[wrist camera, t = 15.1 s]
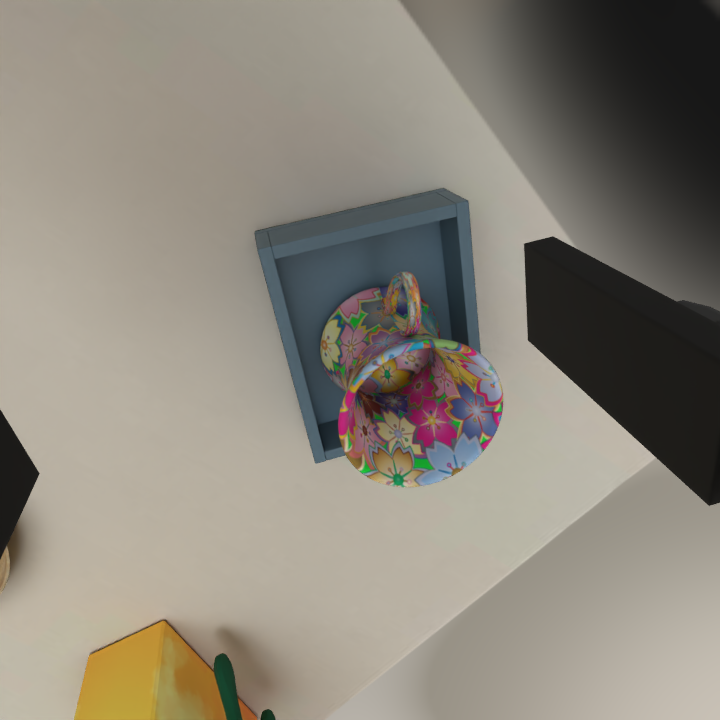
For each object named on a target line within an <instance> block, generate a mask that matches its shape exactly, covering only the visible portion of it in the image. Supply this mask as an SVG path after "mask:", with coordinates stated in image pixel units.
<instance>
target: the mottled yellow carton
mask: <svg viewBox="0 0 720 720" xmlns="http://www.w3.org/2000/svg"><path fill="white" fill-rule="evenodd" d="M74 720H257V717H256V716H255V715H254V714H253V713H252V712H251V711H250V710H249V709H248V708H247V707H246V706H245V704H244V703H243V702H242V701H241V700H240V699H239V698H238V697H237V691H236V683H235V676H234V671H233V667H232V664H231V662H230V660H229V658H228V657H227V655H226V654H223V653H222V654H219V655H218V656H216V658H215V662H214V672H213V671H212V670H211V669H210V668H209V667H208V666H207V665H206V664H205V663H204V662H203V660H202V659H201V658H200V657H199V656H198V655H197V654H196V653H195V652H194V651H193V650H192V649H191V648H190V647H189V646H188V645H187V644H186V643H185V642H184V641H183V640H182V638H181V637H180V636H179V635H178V634H177V633H176V632H175V631H174V630H173V629H172V628H171V627H170V626H169V625H168V624H167V623H166V622H165V621H161V622H159V623H157V624H155V625H153V626H151V627H149V628H146V629H144V630H142V631H140V632H138V633H136V634H134V635H131V636H129V637H127V638H125V639H123V640H121V641H119V642H117V643H114V644H112V645H110V646H108V647H106V648H104V649H102V650H100V651H97V652H95V653H93V654H91V655H89V658H88V662H87V666H86V671H85V675H84V679H83V683H82V687H81V692H80V696H79V700H78V704H77V709H76V713H75V717H74ZM261 720H275V716H274V714H273V712H272V711H271V710H269V709H267V710H265V711H263V712H262V715H261Z"/></svg>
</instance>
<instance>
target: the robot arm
mask: <svg viewBox="0 0 720 720" xmlns="http://www.w3.org/2000/svg"><path fill="white" fill-rule="evenodd" d="M524 251H525V276H526V302H527V327H528V341H529V342H531V343H532V344H533V345H534V346H535V347H536V348H537V349H538V350H539V351H540V352H541V353H543V354H544V355H545V356H546V357H547V358H548V359H549V360H550V361H551V362H552V363H554V364H555V365H556V366H557V367H558V368H559V369H560V370H561V371H562V372H563V373H564V374H566V375H567V376H568V377H569V378H570V379H571V380H572V381H573V382H574V383H575V384H576V385H578V386H579V387H580V388H581V389H582V390H583V391H584V392H585V393H586V394H587V395H588V396H590V397H591V398H592V399H593V400H594V401H595V402H596V403H597V404H598V405H599V406H601V407H602V408H603V409H604V410H605V411H606V412H607V413H608V414H609V415H610V416H611V417H613V418H614V419H615V420H616V421H617V422H618V423H619V424H620V425H621V426H622V427H623V428H625V429H626V430H627V431H628V432H629V433H630V434H631V435H632V436H633V437H634V438H636V439H637V440H638V441H639V442H640V443H641V444H642V445H643V446H644V447H645V448H646V449H648V450H649V451H650V452H651V453H652V454H653V455H654V456H655V457H656V458H657V459H659V460H660V461H661V462H662V463H663V464H664V465H665V466H666V467H667V468H668V469H669V470H671V471H672V472H673V473H674V474H675V475H676V476H677V477H678V478H679V479H681V481H683V482H684V483H685V484H686V485H687V486H688V487H689V488H690V489H691V490H692V491H694V492H695V493H696V494H697V495H698V496H699V497H700V498H701V499H702V500H703V501H704V502H705V503H707V504H708V505H709V506H710V505H713V504H716V503H720V312H719V311H717V310H715V309H713V308H711V307H708V306H704V305H700V304H696V303H692V302H688V301H684V300H682V301H678V302H676V301H674V300H672V299H671V298H669V297H667V296H665V295H663V294H661V293H659V292H657V291H655V290H653V289H651V288H650V287H648V286H646V285H644V284H642V283H640V282H638V281H636V280H634V279H633V278H631V277H629V276H627V275H625V274H623V273H621V272H619V271H617V270H615V269H613V268H612V267H610V266H608V265H606V264H604V263H602V262H600V261H598V260H596V259H595V258H593V257H591V256H589V255H587V254H585V253H583V252H581V251H580V250H578V249H576V248H574V247H572V246H570V245H568V244H566V243H564V242H562V241H561V240H559V239H557V238H555V237H549V238H545V239H541V240H537V241H533V242H529V243H525V244H524ZM38 476H39V472H38V470H37V469H36V467H35V465H34V464H33V462H32V461H31V459H30V457H29V456H28V454H27V452H26V451H25V449H24V447H23V446H22V444H21V443H20V441H19V439H18V438H17V436H16V434H15V433H14V431H13V430H12V428H11V426H10V425H9V423H8V421H7V420H6V418H5V416H4V415H3V413H2V412H1V410H0V559H1V557H2V555H3V553H4V550H5V548H6V546H7V544H8V542H9V539H10V537H11V535H12V533H13V531H14V528H15V526H16V524H17V522H18V520H19V517H20V515H21V513H22V511H23V509H24V507H25V504H26V502H27V500H28V498H29V496H30V493H31V491H32V489H33V487H34V485H35V482H36V480H37V478H38Z"/></svg>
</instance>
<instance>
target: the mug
mask: <svg viewBox="0 0 720 720" xmlns="http://www.w3.org/2000/svg"><path fill="white" fill-rule="evenodd" d="M402 284H403V285H404V288H405V289H401V286H402ZM320 353H321V360H322V364H323V367H324V369H325V371H326V373H327V375H328V376H329V378H330V379H331V380H332V381H333V383H334V384H336V385H337V386H338V387H339V388H340V389H342V390H343V391H345V392H346V394H345V396H344V399H343V401H342V405H341V408H340V413H339V420H338V431H339V438H340V442H341V445H342V448H343V450H344V452H345V454H346V456H347V458H348V459H349V461H350V462H351V463H352V464H353V465H354V467H355V468H356V469H358V470H359V471H360V472H361V473H362V474H364V475H365V476H367V477H368V478H370V479H372V480H374V481H377V482H379V483H382V484H386V485H390V486H396V487H417V486H424V485H429V484H432V483H436V482H439V481H441V480H444V479H446V478H448V477H451V476H453V475H454V474H456V473H458V472H460V471H461V470H463V469H464V468H466V467H467V466H468V465H469V464H471V463H472V462H473V461H474V460H475V459H476V458H477V457H478V456H479V455H480V454H481V453H482V452H483V451H484V450H485V448H486V447H487V446H488V444H489V443H490V441H491V440H492V438H493V436H494V434H495V433H496V430H497V428H498V426H499V423H500V420H501V415H502V410H503V392H502V387H501V383H500V380H499V377H498V375H497V373H496V371H495V370H494V368H493V367H492V365H491V364H490V363H489V362H488V360H487V359H486V358H485V357H483V356H482V355H481V354H480V353H479V352H477V351H476V350H474V349H472V348H471V347H469V346H466V345H464V344H461V343H458V342H455V341H450V340H444V339H440V330H439V325H438V321H437V318H436V316H435V314H434V312H433V310H432V309H431V307H430V306H429V305H428V304H427V303H426V302H425V301H424V300H423V299H422V298H421V297H420V291H419V287H418V283H417V280H416V278H415V276H414V275H413V274H412V273H410V272H399V273H397V274H396V275H395V276H394V277H393V278H392V280H391V282H390V285H389V287H375V288H370V289H367V290H364V291H361V292H359V293H357V294H355V295H353V296H351V297H350V298H348V299H347V300H346V301H344V302H343V303H342V304H341V305H340V306H339V307H338V308H337V309H336V310H335V311H334V312H333V314H332V315H331V316H330V318H329V320H328V321H327V323H326V325H325V328H324V330H323V334H322V338H321V345H320Z"/></svg>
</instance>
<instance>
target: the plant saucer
mask: <svg viewBox="0 0 720 720" xmlns="http://www.w3.org/2000/svg"><path fill="white" fill-rule="evenodd" d="M9 571H10V556H9V552H8V548H7V546H6V548H5V550H4V553H3V555H2V557H1V559H0V594H1V593H2V591H3V589H4V587H5V585H6V583H7V581H8V577H9Z"/></svg>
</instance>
